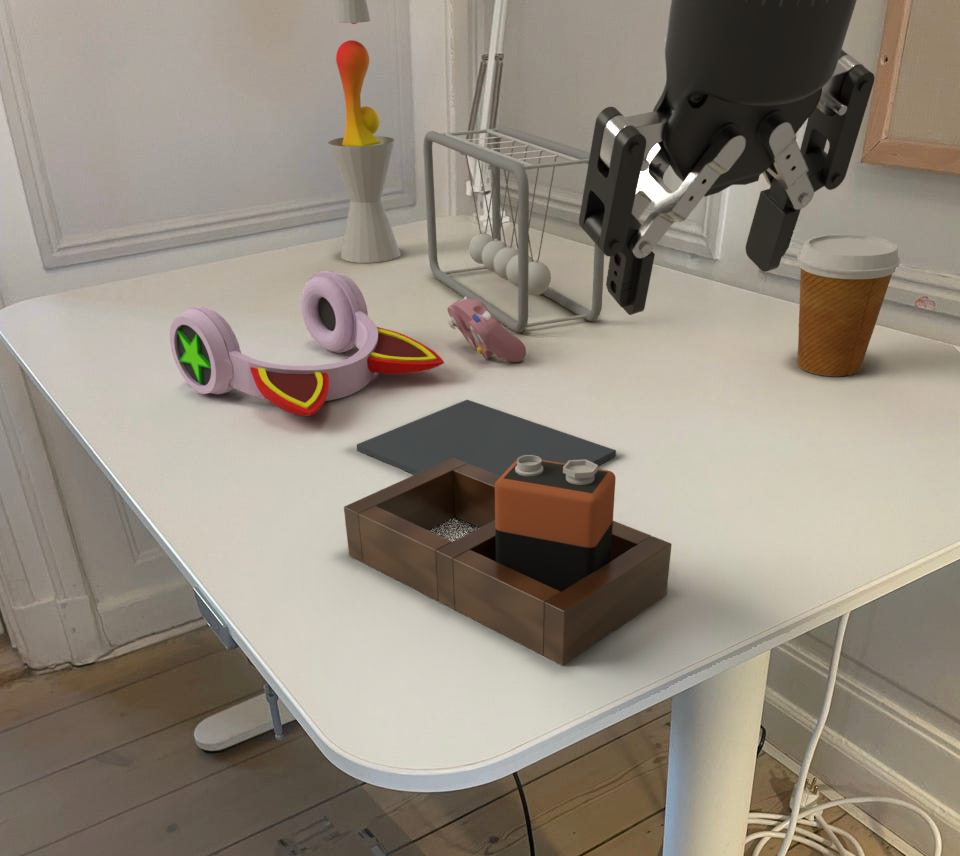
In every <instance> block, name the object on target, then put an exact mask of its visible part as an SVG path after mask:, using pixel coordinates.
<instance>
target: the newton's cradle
mask: <svg viewBox="0 0 960 856" xmlns="http://www.w3.org/2000/svg"><path fill="white" fill-rule="evenodd" d="M479 134H490V135H491V137H480V138H470V139H464V138H462V137H459V136H466V135H479ZM488 139H490V142H487V143H486V142H485V143H475V142H472V141H474V140H475V141H476V140H488ZM502 139H505V140H506V141H502ZM507 140H508V141H507ZM433 143H435V144H437V145H440V146H443V147H445V148H448V149H450V150H452V151H455V152H459V153H460V154H463V155H465V159H466V160H465V161H466V164H467V171H468V175H469V176H468V177H469V181H470V186H471V192H472V198H473V204H474V208H475V213H476V220H477V225H478V229H479V233H478V234H476V235H475V236H473V238H471V240H470V241H469V245H468V252H469V256H470V258H471V259H472V260H473V261H474V262H475V263H477V264H479V265H483V266H474V267H468V268H460V269H453V270H445V271H442V269H441V268H440V266H439V260H438V246H437V243H438V242H437V226H436V225H437V222H436V221H437V220H436V202H435V181H434V159H433V158H434V155H433ZM504 143H512V144H511V146H508V147H506V146H505V147H501V144H504ZM515 143H516V144H520V145H517V146H515V145H514V144H515ZM483 145H490V148H489V147H486V146H483ZM422 147H423V148H422V151H423V169H424V187H425V188H424V190H425V191H424V192H425V206H426V228H427V246H428V249H427V250H428V262H429V268H430V270H431V273H432V275H433V276H434V277H435V278H436V279H438V280H439V281H440V282H441V283H443V284H445V285H446V286H448V287H449V288H450V289H452V290H453V291H455V292H456V293H458V294H459V295H461V296H462V297H463V298H464V297H465V296H466V298H467V299H476V300H479V301H481V302H483V303H484V304H485V305H486V307H487V308H488V311H489V312H490V313H491V314H492V315H493V316H494V317H495V318H496V319H497V320H498V322H499V323H500V324H502V325H504V326H505V327H507V328H509V330H511V331H513V332H515V333H517V334H519V333H523V332H524V331H525V330H526V328H530V327H531V328H532V327H536V326H537V327H538V326H544V325H551V324H556V323H563V322H568V321H575V320H581V319H584V320H586V321H588V322H594V321H596V320H597V319H598V318H599V317H600V315H601V313H602V309H603V291H604V272H605V271H604V270H605V269H604V268H605V254H604V253H603V252H602V251H601V249H600V248H599V247H598V246H597V245H596V244H595V243H594V248H593V249H594V250H593V251H594V252H593V272H592V273H593V277H592V280H593V281H592V299H591V301H592V302H591V309H589V308H587V307H585V306H583V304H580V303H578V302H577V301H575V300H573V299H572V298H570V297H568V296H566V295H565V294H563V293H561V292H560V291H557V290H555V289H554V288H552V287H550V285H551V283H552V273H551V271H550V269H549V267H548V266H547V265H546V264H545V263H544V262H542V261H540V256H541V249H542V244H543V238H544V232H545V226H546V221H547V215H548V209H549V203H550V198H551V191H552V187H553V186H552V185H553V180H554V174H555V168H556V167H563V166H573V165H582V164H587V165H588V163H589V158H590V152H591V151H587V150H583V149H580V148H577V147H574V146H570V145H568V144H564V143H560V142H557V141H555V140H552V139H548V138H545V137H542V136H539V135H535V134H532V133H529V132H526V131H522V130H520V129H516V128H514V127H510V126H506V125H503V124H497V125H496V126H495V127H494V128H485V129H474V130H464V131H453V132H442V133H439V132H436V131H434V130H429V131H427V132H426V133H425V135H424V138H423V143H422ZM523 147H525V151H518V152H514V148H523ZM528 147H529V148H531V149H534V150H529V151H528ZM501 149H510V150H511V151H510V152H509V153H507V152H506V153H503V152H501ZM534 152H535V153H536V152H539V156H535V157H527V153H534ZM542 152H543V153H546V154H549V155H544V156H543V155H542ZM515 154H524V157H522V158H516V157H514V156H513V155H515ZM468 157H470V158H473V159H476V160H477V162H478V163H477V164H478V168H479V175H480V180H481V184H482V190H483V196H484V201H485V205H486V206H485V207H486V211H487V219H486V224H485V231H482V230H481V224H480V220H479V214H478V208H477V203H476V198H475V197H476V196H475V193H474V192H475V191H474V186H473V181H472V175H471V170H470V164H469V159H468ZM551 157H554V161H553V162H545V163H541V160H542V159H541V158H551ZM557 157H558V158H561V159H564V160H565V161H564V160H563V161H557ZM530 159H532V160H533V159H538V163H536V164H532V163H530V162H527V161H526V160H530ZM480 162H483V163H486V164H488V165H490V170H491V191H490V198H489V204H488V199H487V195H486V190H485V185H484V184H485V183H484V179H483V174H482V167H481V163H480ZM544 168H552V172H551V179H550V184H549V191H548V197H547V202H546V209H545V215H544V219H543V224H542V225H543V226H542V231H541V238H540V242H539V249H538V254H537V255H538V256H537V259H534V258H533V257H534V256H533V252H532V251H533V250H532V245H531V240H530V239H531V238H530V233H529V231H530V225H531V218H532V213H533V207H534V201H535V194H536V189H537V183H538V176H539V171H540V169H544ZM534 169H537V170H536V175H535V182H534V188H533V192H532V193H533V194H532V198H531V199H532V200H531V206H530V186H529V179H528V175H527V171H526V170H534ZM501 170H503V174H504V179H505V191H504V198H503V204H502V205H503V206H502V210H501ZM506 172H507V173H506ZM510 173H511V174H513V175H514V177H515V178H516V182H517V204H516V208H515V215H514V213H513V207H512V201H511V195H510V191H509V178H510ZM506 197H508V203H509V209H510V215H511V219H512V227H513V228H512V235H511V239H510V240H511V241H510V244H509V245H508V244H507V242H506V236H505V230H504V225H503V219H504V211H505V205H506ZM490 212H491V217H490ZM516 223H517V230H516ZM488 224H489V227H490V232H491V234H489V233H487V230H488ZM514 237H515V243H516V248H515V247H512V246H513V242H514ZM502 238H503V241H502ZM529 252H530V255H529ZM482 270H488V271H490V272H493V273H496V274H497V276H499V277H500V278H502V279H504V280H508V282H510V283H511V284H512V285H513V286H515V287H517V301H518V302H517V317H518V318H517V320H516V319H515V318H513V317H511V316H510V315H509V314H508V313H506V312H504V311H503V310H501V309H499V308H498V307H496V306H495V305H494V304H492V303H490V301H488V300H486V299H485V298H483V297H482V296H481V295H479V294H477V293H476V292H474V291H473V290H471V289H470V288H468V287H467V286H465V285H464V284H462V283H461V282H459V281H458V280H456V279H455V278H453V277H451V274H459V273H466V272H475V271H482ZM541 294H542V295H543V296H545V297H546V298H549V299H551V300H552V301H554V302H556V304H559V305H561V306H562V307H564V308H565V309H567V310H569V311H571V312H573V313H574V314H576V315H573V316H567V317H566V316H565V317H561V318H553V319H548V320H540V321H534V322H529V295H531V296H540V295H541Z"/></svg>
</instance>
